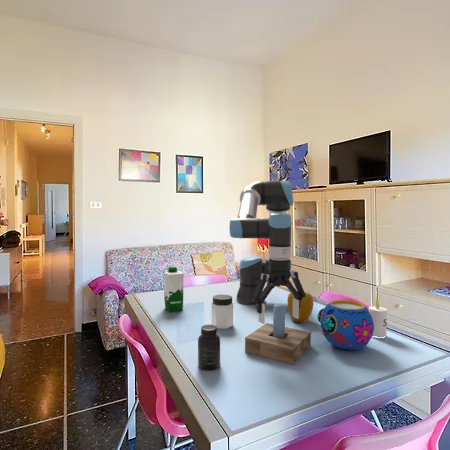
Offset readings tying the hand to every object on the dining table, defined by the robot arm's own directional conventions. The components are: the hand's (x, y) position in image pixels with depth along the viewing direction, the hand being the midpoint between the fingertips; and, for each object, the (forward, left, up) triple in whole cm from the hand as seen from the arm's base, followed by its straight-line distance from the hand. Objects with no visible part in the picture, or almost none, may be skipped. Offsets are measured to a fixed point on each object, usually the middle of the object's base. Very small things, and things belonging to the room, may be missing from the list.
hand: (278, 320), depth 110 cm
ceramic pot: (-15, +19, -10) cm, 26 cm away
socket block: (0, 0, -10) cm, 10 cm away
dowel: (0, 0, -10) cm, 10 cm away
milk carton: (-15, -61, -10) cm, 64 cm away
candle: (-32, +27, -10) cm, 43 cm away
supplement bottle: (+23, -13, -10) cm, 28 cm away
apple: (-33, -4, -10) cm, 35 cm away
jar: (-9, -29, -10) cm, 32 cm away
